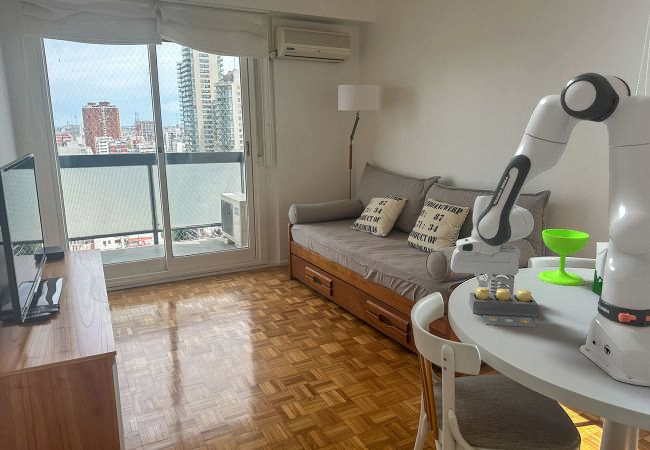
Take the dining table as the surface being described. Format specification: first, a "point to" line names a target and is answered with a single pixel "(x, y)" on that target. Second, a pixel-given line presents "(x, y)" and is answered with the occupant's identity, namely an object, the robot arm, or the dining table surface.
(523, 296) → the right button
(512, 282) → the french press
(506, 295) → the middle button
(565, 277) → the wineglass
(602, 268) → the milk carton
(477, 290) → the left button
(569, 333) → the dining table surface
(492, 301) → the button board
